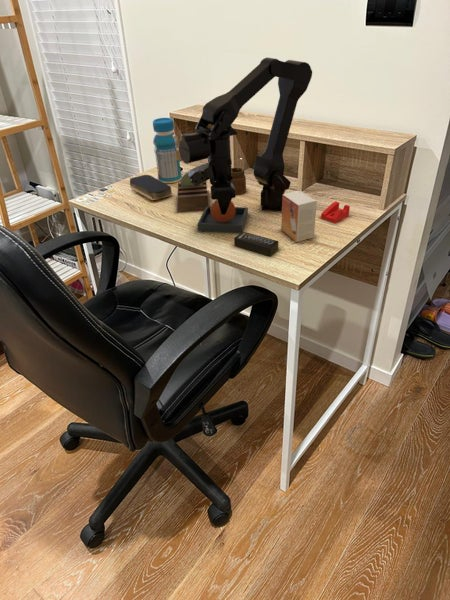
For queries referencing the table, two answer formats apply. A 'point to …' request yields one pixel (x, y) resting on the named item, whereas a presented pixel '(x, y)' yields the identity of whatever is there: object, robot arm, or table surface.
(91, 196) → the table surface
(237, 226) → the tray
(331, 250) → the table surface
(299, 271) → the table surface
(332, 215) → the bracket
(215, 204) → the terracotta disc
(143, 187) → the black sponge
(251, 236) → the multiport hub
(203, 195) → the rack
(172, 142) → the beverage bottle
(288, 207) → the small box
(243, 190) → the utensil holder
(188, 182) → the sage disc
